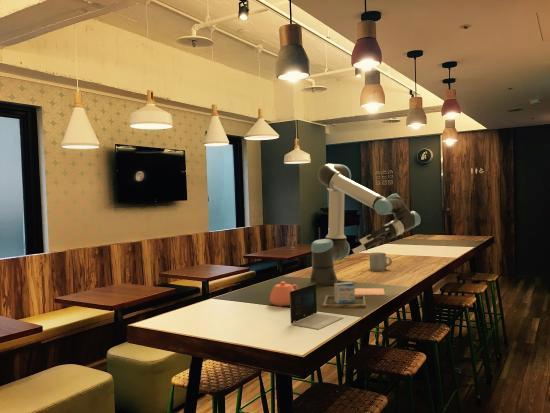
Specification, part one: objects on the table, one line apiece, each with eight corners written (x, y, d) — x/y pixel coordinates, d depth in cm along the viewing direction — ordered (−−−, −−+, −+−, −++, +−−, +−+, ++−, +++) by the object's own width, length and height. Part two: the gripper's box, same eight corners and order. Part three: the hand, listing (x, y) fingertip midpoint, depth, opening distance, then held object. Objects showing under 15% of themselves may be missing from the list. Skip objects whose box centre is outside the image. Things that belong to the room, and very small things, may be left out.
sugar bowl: (266, 303, 208) (265, 280, 207) (294, 299, 213) (293, 277, 212) (275, 309, 196) (274, 285, 196) (305, 305, 201) (304, 282, 201)
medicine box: (338, 304, 200) (337, 284, 200) (334, 302, 204) (333, 282, 204) (355, 302, 202) (354, 283, 202) (350, 300, 207) (350, 281, 206)
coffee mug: (367, 270, 285) (366, 254, 285) (373, 267, 293) (373, 252, 293) (388, 271, 277) (387, 255, 277) (393, 268, 286) (393, 253, 285)
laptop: (318, 331, 164) (317, 294, 163) (290, 326, 171) (289, 291, 171) (343, 319, 178) (342, 285, 178) (316, 314, 186) (315, 282, 185)
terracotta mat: (354, 295, 216) (354, 294, 216) (354, 289, 230) (354, 288, 230) (384, 295, 214) (384, 294, 214) (383, 289, 228) (383, 288, 227)
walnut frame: (322, 307, 196) (322, 304, 196) (326, 297, 214) (326, 295, 214) (365, 307, 193) (365, 305, 193) (365, 297, 211) (365, 295, 211)
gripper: (405, 226, 215) (368, 244, 209) (388, 244, 238) (354, 262, 232) (396, 213, 218) (359, 231, 212) (380, 232, 240) (346, 249, 234)
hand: (357, 247), depth 222 cm, fingers open, 13 cm apart
